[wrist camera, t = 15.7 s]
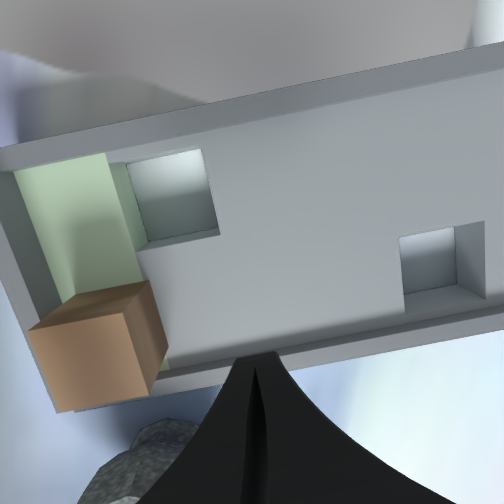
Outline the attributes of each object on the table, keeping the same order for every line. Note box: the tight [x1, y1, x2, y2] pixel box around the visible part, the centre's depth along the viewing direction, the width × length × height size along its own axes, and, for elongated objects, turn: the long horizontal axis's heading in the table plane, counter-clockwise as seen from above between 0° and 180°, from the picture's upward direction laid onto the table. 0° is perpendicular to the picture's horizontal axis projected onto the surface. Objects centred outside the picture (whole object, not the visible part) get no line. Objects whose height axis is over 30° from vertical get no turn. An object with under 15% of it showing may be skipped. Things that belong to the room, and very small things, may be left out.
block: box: [27, 280, 169, 412], centre depth 16 cm, size 4×4×4 cm
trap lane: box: [0, 41, 504, 413], centre depth 17 cm, size 25×14×4 cm, turn 101°
